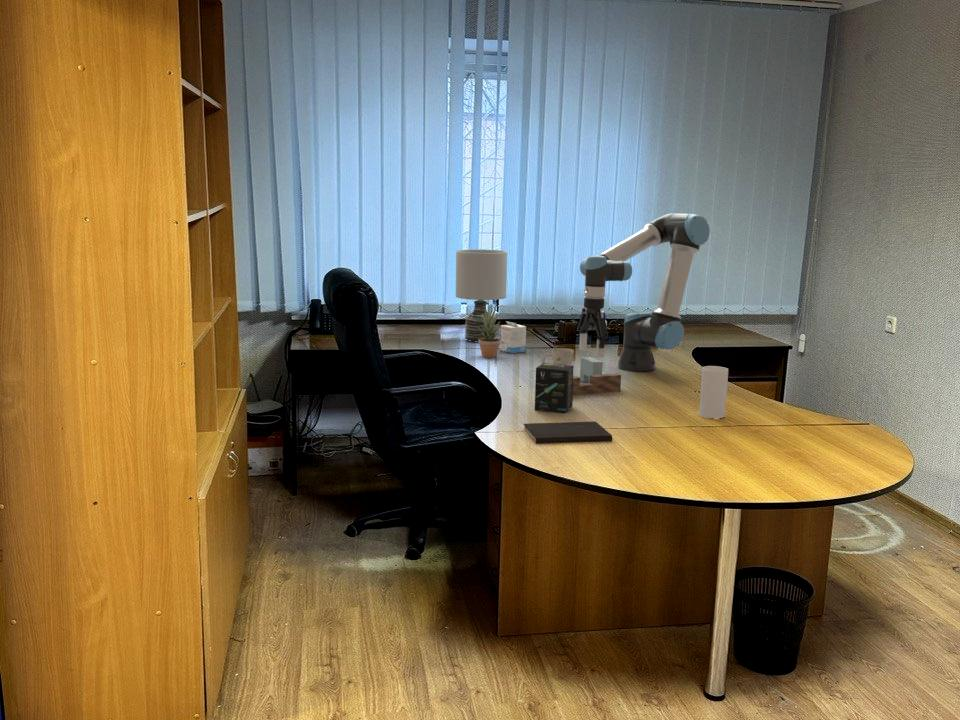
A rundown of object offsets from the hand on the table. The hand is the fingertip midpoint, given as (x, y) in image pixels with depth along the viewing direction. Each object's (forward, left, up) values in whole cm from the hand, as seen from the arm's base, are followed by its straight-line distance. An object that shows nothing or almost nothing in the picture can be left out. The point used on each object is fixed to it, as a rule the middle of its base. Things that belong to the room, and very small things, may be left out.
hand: (591, 353), depth 334 cm
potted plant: (+18, -60, -12) cm, 64 cm away
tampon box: (+31, +32, -12) cm, 46 cm away
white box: (+3, -68, -12) cm, 69 cm away
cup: (-15, +56, -12) cm, 59 cm away
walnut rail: (+10, +14, -11) cm, 20 cm away
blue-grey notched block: (0, 0, -11) cm, 11 cm away
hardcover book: (+41, +62, -12) cm, 75 cm away
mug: (+6, -17, -12) cm, 21 cm away
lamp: (+7, -99, -12) cm, 100 cm away
